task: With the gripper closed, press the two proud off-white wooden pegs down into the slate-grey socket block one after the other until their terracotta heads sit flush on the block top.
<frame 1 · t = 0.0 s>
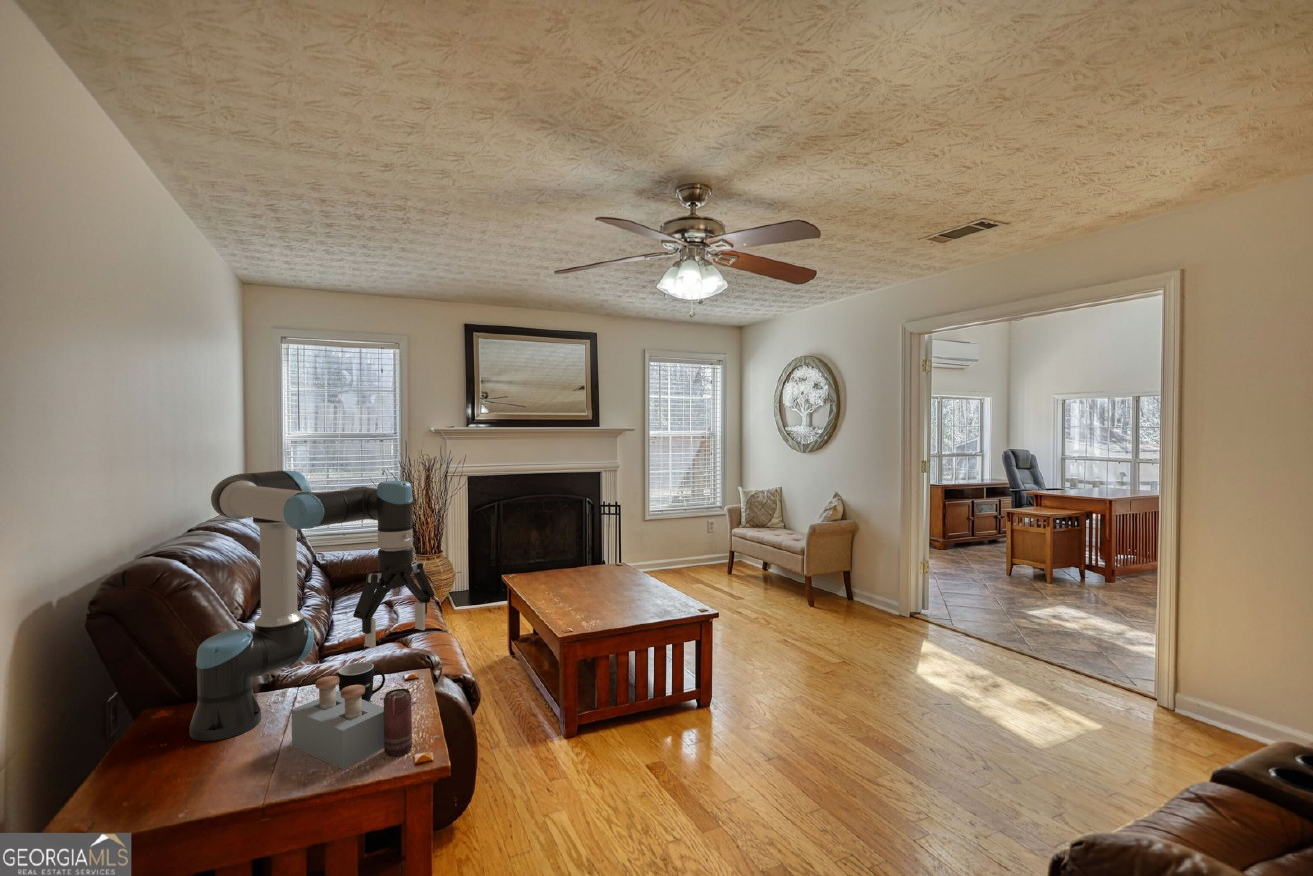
hand: (396, 637, 146), 28 cm above the table, fingers open, 13 cm apart
peg 2: (353, 709, 148), point 10 cm above the table, slide at 5.0 cm
peg 1: (327, 700, 153), point 10 cm above the table, slide at 5.0 cm
mug: (362, 703, 174), on the table
can: (398, 752, 149), on the table
socket block: (340, 745, 151), on the table
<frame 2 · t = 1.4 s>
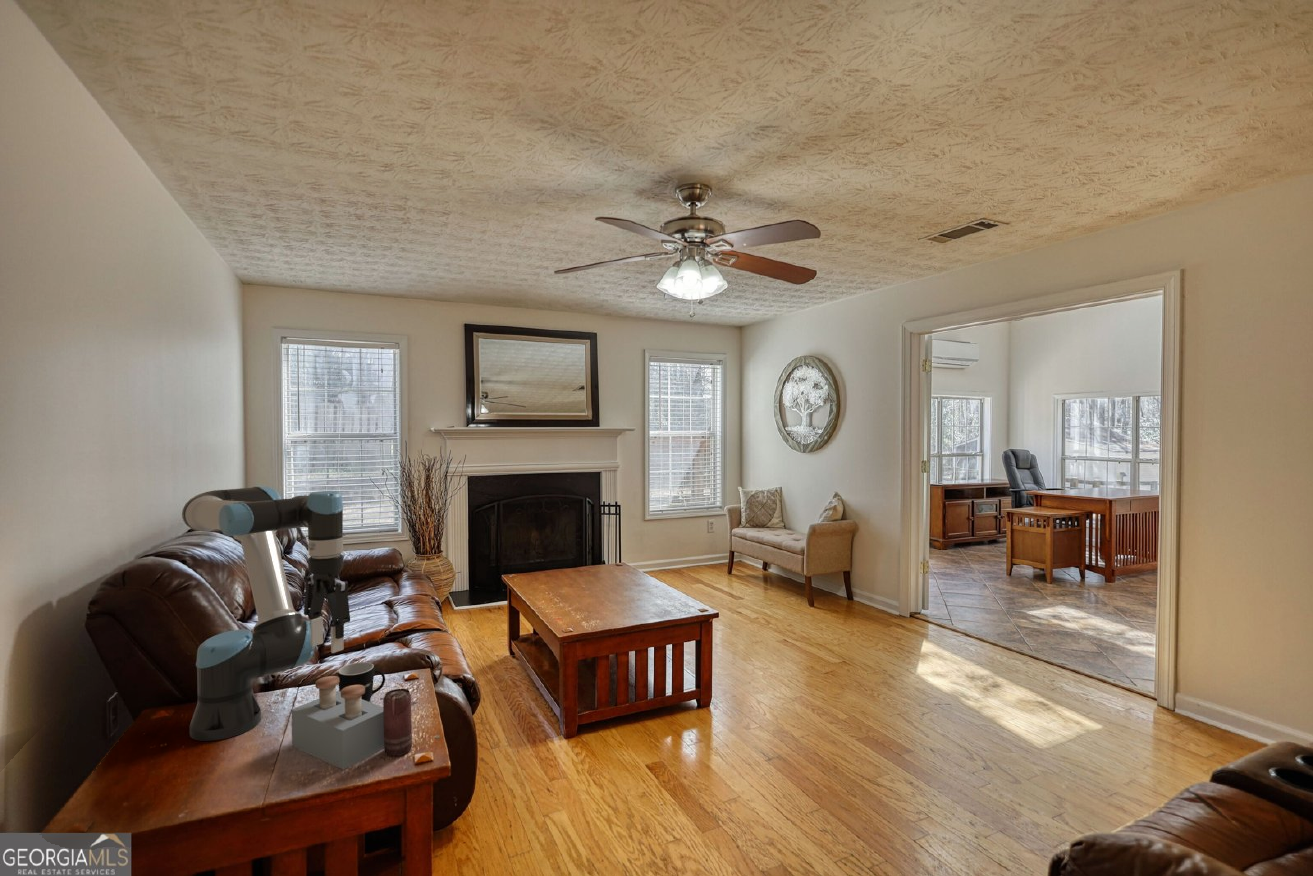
hand: (327, 647, 153), 23 cm above the table, fingers open, 8 cm apart
nothing on the table moved.
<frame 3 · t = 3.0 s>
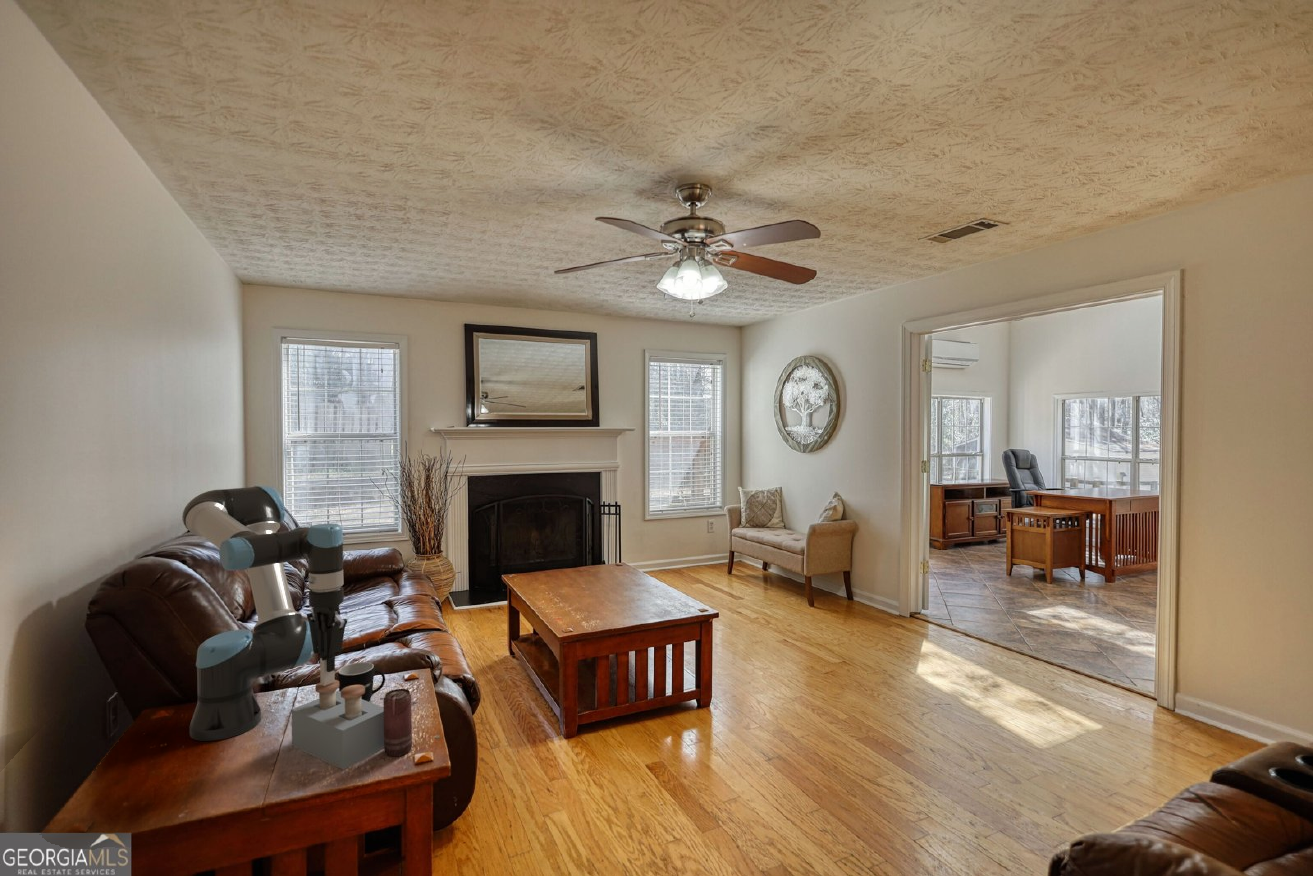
hand: (327, 683, 153), 14 cm above the table, fingers closed
peg 1: (327, 703, 153), point 9 cm above the table, slide at 4.0 cm, touching gripper
everything else where it was.
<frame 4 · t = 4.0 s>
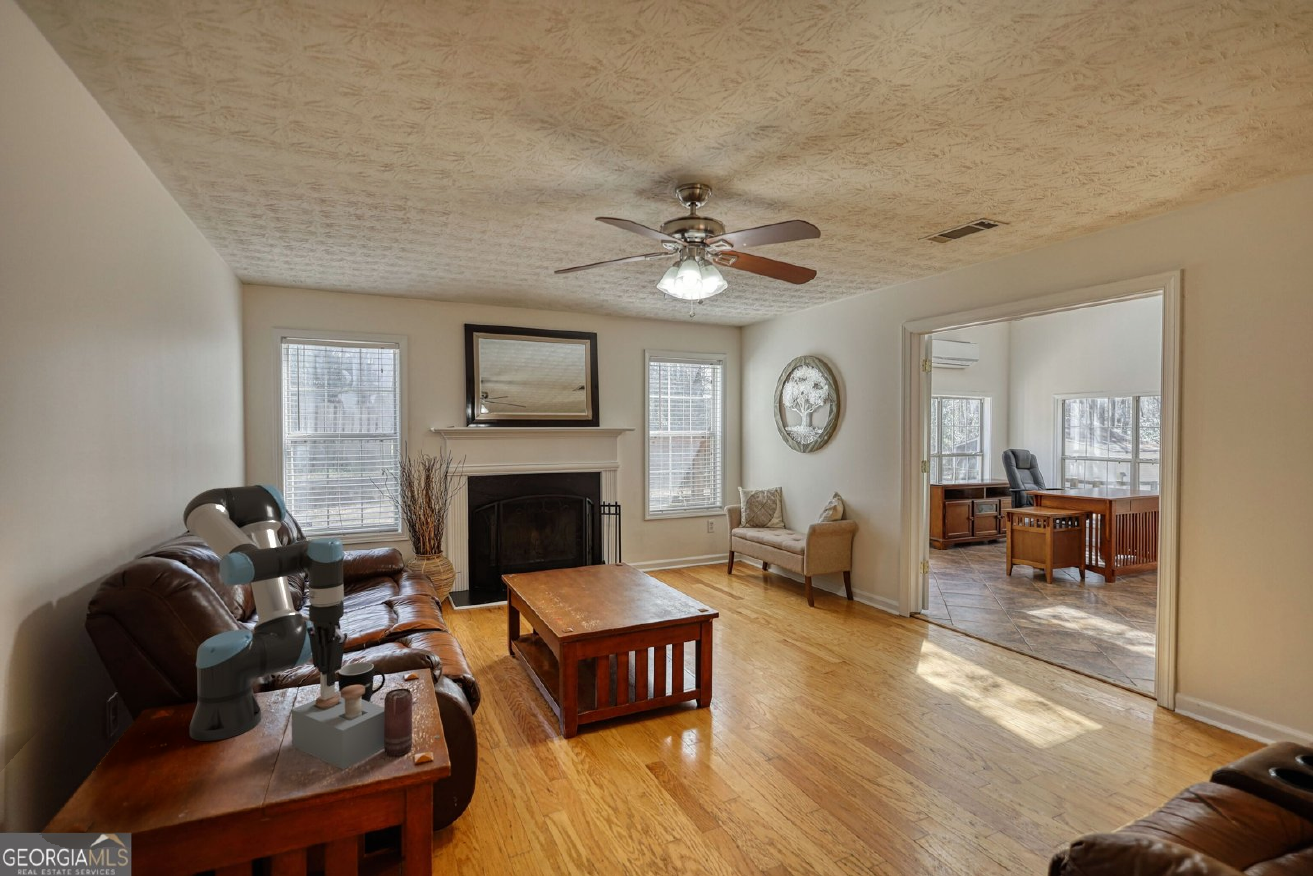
hand: (327, 697, 153), 11 cm above the table, fingers closed
peg 1: (327, 718, 153), point 6 cm above the table, slide at 0.5 cm, touching gripper
everything else where it was.
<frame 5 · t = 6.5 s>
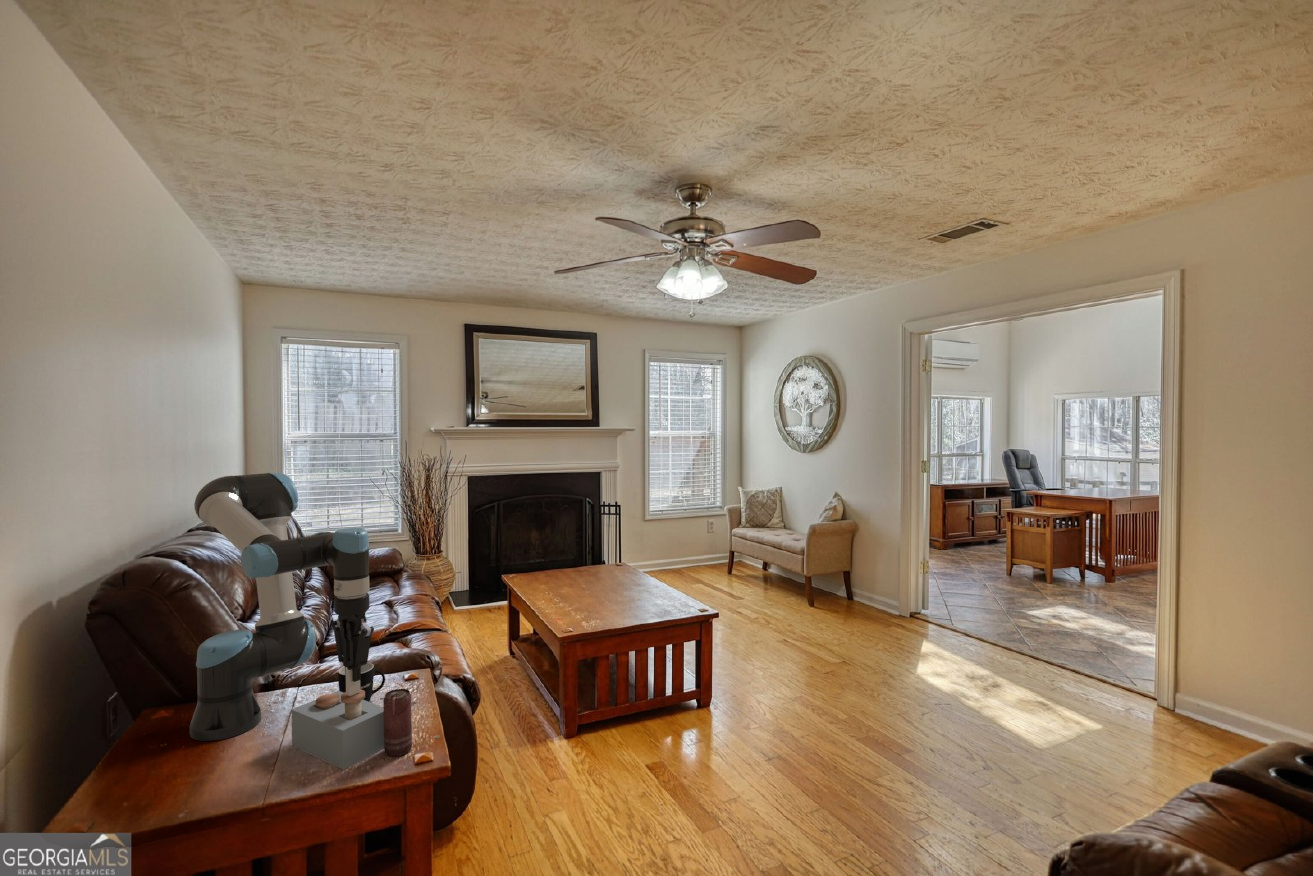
hand: (353, 693, 148), 14 cm above the table, fingers closed
peg 2: (353, 714, 148), point 9 cm above the table, slide at 3.8 cm, touching gripper
peg 1: (327, 718, 153), point 6 cm above the table, slide at 0.5 cm
everything else where it was.
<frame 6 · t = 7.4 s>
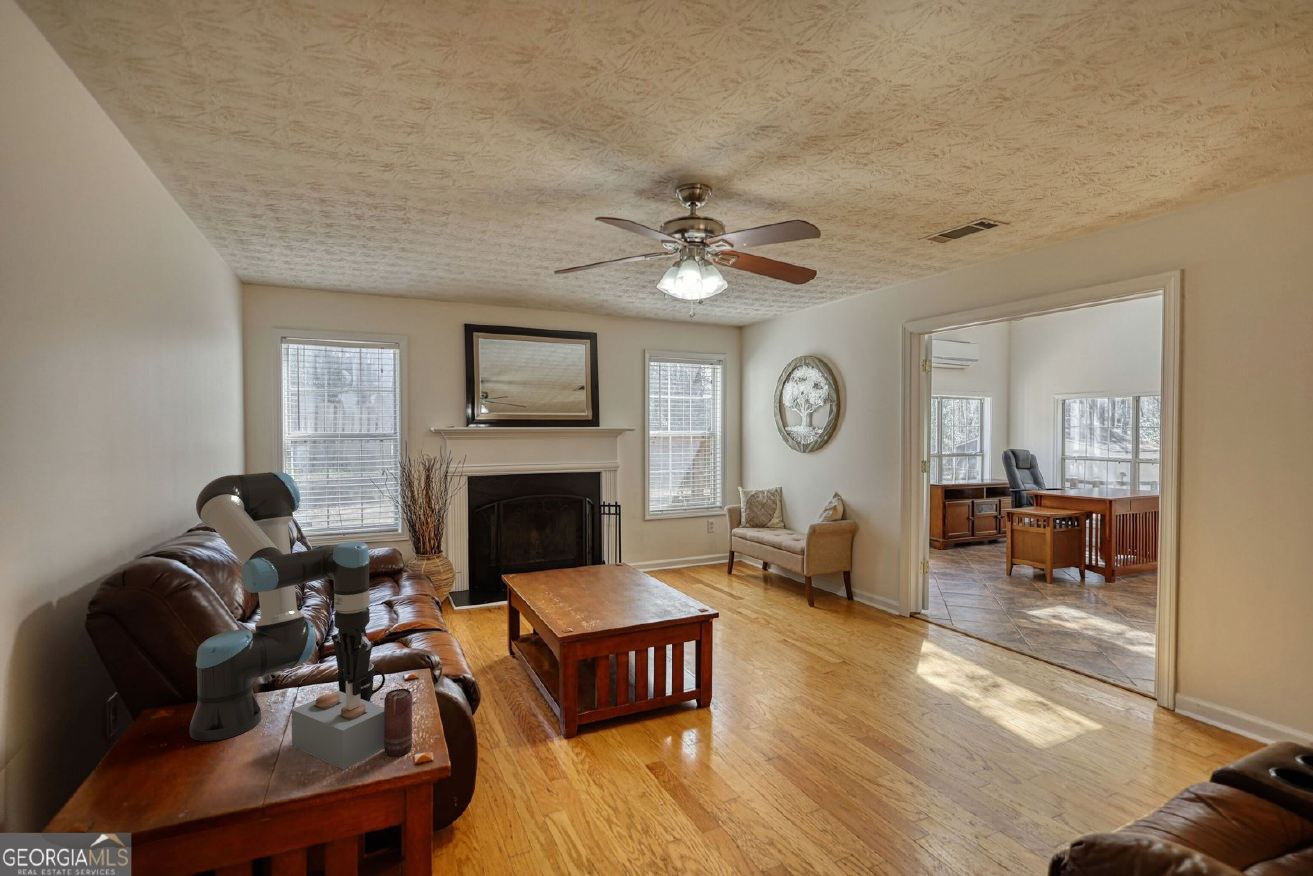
hand: (353, 707, 148), 11 cm above the table, fingers closed
peg 2: (353, 728, 149), point 6 cm above the table, slide at 0.5 cm, touching gripper
everything else where it was.
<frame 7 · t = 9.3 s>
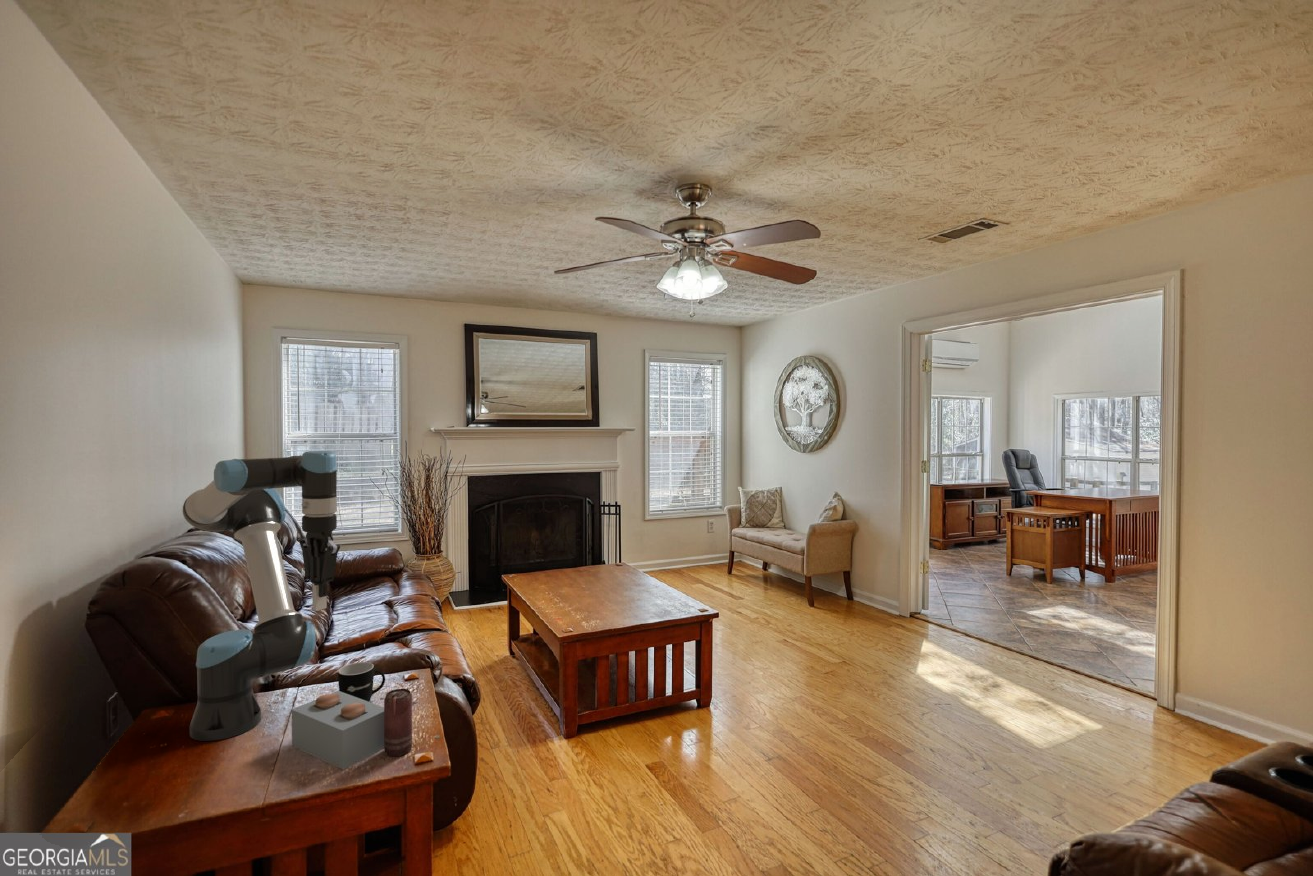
hand: (319, 608, 154), 32 cm above the table, fingers closed
peg 2: (353, 728, 149), point 6 cm above the table, slide at 0.5 cm
everything else where it was.
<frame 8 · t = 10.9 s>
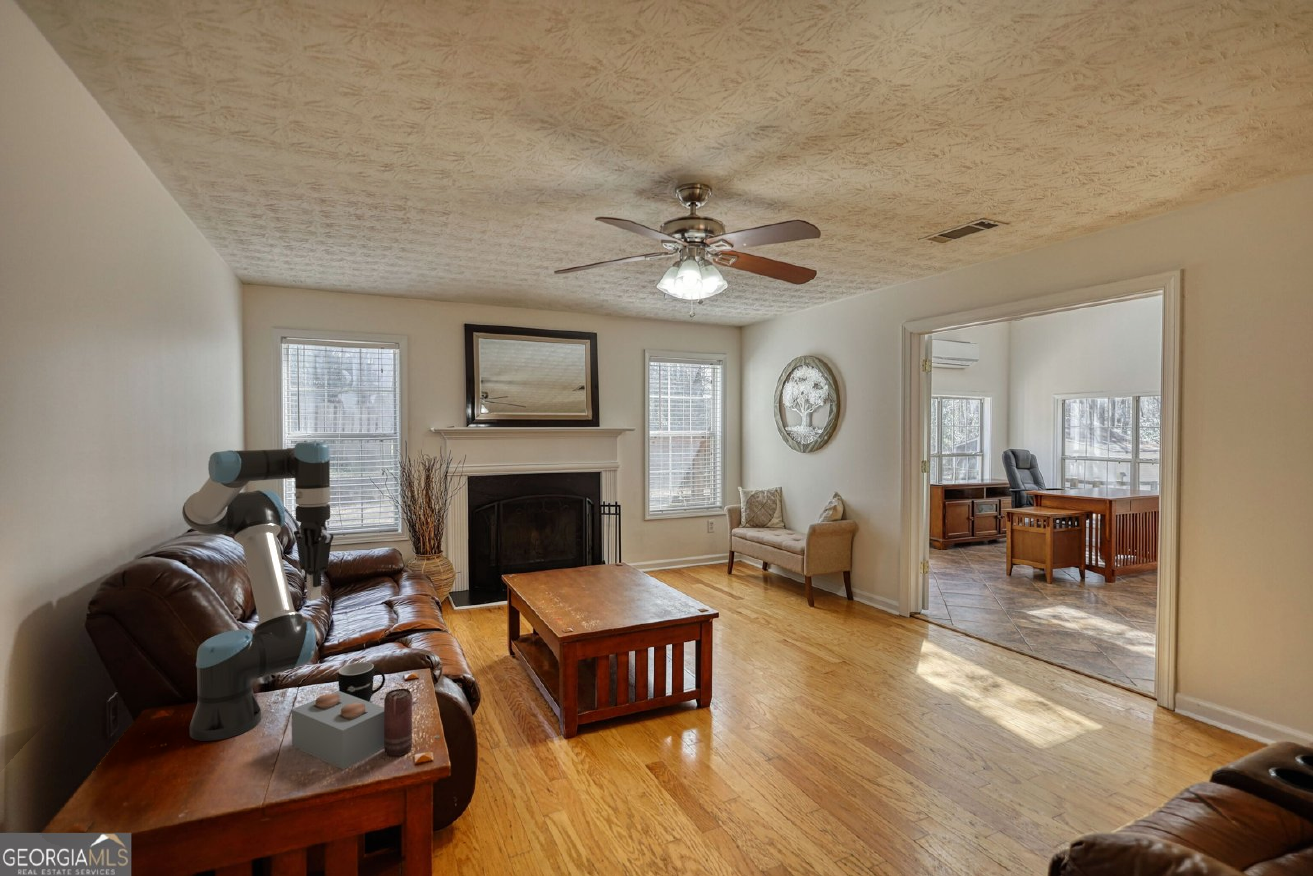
hand: (314, 599, 155), 34 cm above the table, fingers closed
nothing on the table moved.
at the end: peg 1 slide at 0.5 cm; peg 2 slide at 0.5 cm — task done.
